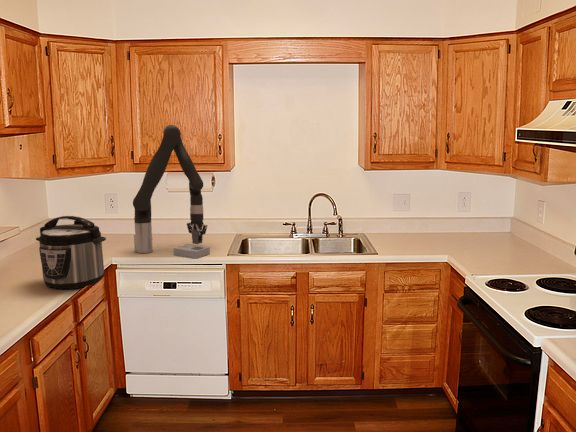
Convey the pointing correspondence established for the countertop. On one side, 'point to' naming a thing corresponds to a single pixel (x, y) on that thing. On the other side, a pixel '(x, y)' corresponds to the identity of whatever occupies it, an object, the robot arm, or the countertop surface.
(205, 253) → the socket plate
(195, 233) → the grey square peg
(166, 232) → the countertop surface
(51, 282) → the pressure cooker
